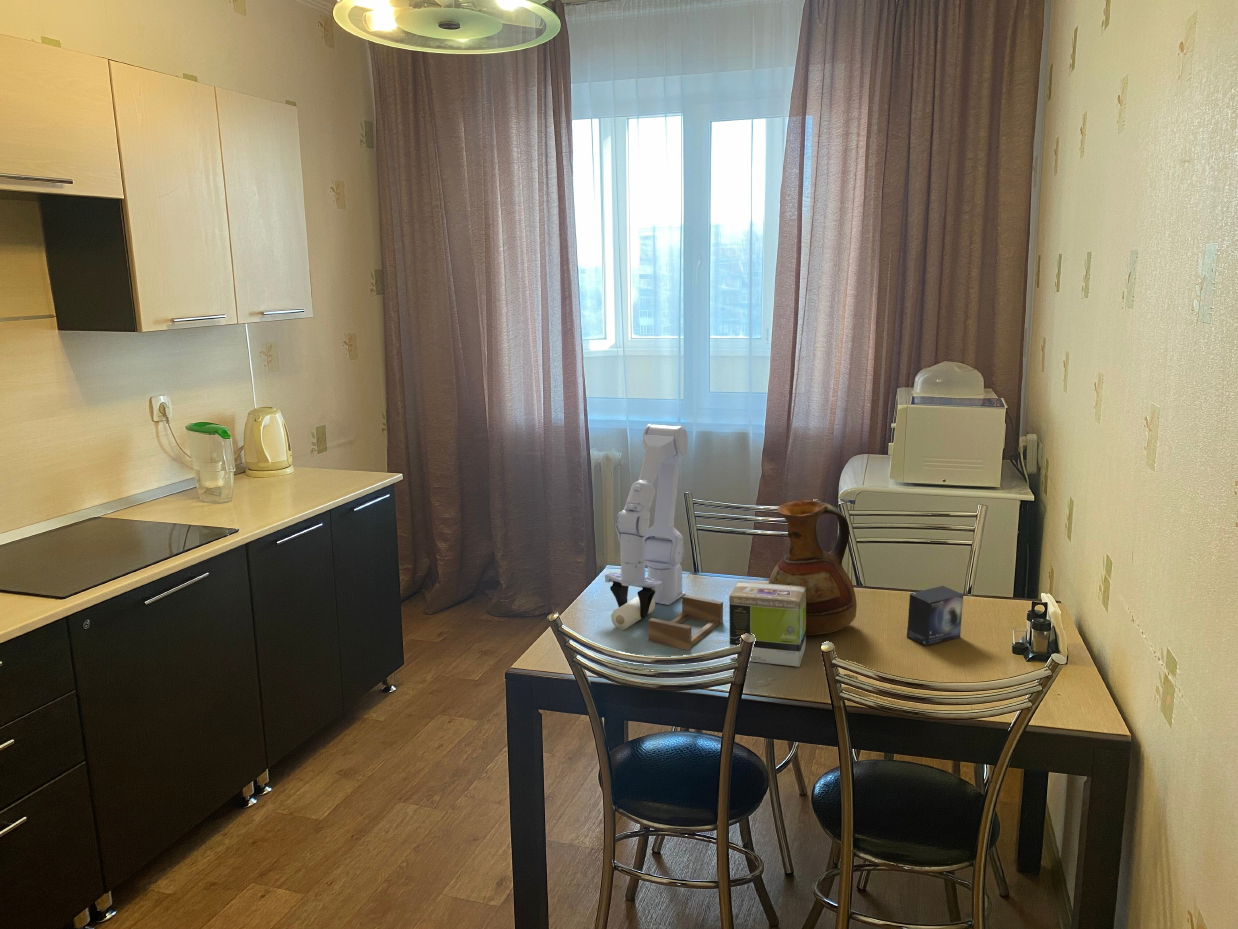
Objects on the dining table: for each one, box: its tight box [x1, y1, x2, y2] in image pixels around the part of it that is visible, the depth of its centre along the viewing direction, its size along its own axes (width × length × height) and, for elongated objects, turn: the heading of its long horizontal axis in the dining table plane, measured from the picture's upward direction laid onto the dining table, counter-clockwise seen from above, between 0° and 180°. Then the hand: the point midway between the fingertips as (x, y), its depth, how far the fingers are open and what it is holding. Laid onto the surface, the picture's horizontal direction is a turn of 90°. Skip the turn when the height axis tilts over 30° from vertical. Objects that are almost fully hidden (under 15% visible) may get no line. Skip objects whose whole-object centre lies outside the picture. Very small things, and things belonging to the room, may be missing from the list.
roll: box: [610, 595, 656, 631], centre depth 214 cm, size 12×5×5 cm
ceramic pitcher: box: [767, 499, 858, 636], centre depth 205 cm, size 20×20×30 cm
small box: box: [906, 585, 964, 647], centre depth 200 cm, size 11×6×10 cm, turn 118°
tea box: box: [728, 580, 807, 668], centre depth 192 cm, size 15×10×15 cm, turn 71°
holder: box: [647, 594, 724, 651], centre depth 207 cm, size 18×10×5 cm, turn 149°
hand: (633, 614), depth 214 cm, fingers closed on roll, 5 cm apart
